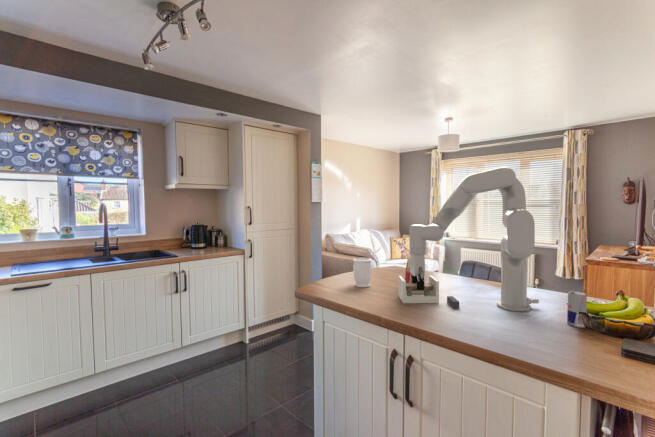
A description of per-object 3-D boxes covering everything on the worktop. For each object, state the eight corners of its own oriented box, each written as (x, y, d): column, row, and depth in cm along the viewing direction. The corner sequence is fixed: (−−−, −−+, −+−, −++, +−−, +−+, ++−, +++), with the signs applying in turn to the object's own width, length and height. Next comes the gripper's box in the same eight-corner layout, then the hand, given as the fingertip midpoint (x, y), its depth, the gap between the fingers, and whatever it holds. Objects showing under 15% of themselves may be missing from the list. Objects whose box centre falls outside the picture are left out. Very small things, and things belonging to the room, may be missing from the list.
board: (406, 290, 143) (406, 286, 142) (404, 287, 148) (404, 283, 148) (432, 290, 142) (432, 286, 142) (429, 287, 148) (429, 283, 148)
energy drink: (567, 321, 116) (568, 289, 116) (585, 324, 113) (586, 292, 112) (566, 325, 112) (567, 293, 112) (586, 329, 109) (587, 295, 108)
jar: (350, 284, 175) (350, 257, 174) (367, 282, 178) (366, 256, 177) (357, 289, 165) (357, 261, 164) (375, 287, 168) (375, 259, 167)
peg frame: (431, 295, 151) (431, 275, 150) (438, 303, 140) (438, 281, 139) (398, 295, 151) (398, 275, 151) (403, 303, 140) (403, 281, 140)
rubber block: (452, 302, 140) (452, 296, 140) (459, 308, 132) (459, 301, 132) (447, 302, 140) (447, 296, 140) (453, 308, 132) (453, 301, 132)
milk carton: (425, 290, 160) (425, 252, 159) (407, 290, 160) (407, 252, 159) (420, 286, 169) (420, 249, 168) (403, 286, 169) (403, 249, 168)
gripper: (405, 248, 153) (405, 282, 154) (414, 254, 136) (414, 292, 137) (421, 248, 153) (421, 282, 154) (431, 253, 135) (431, 292, 136)
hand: (417, 287), depth 145 cm, fingers open, 9 cm apart
